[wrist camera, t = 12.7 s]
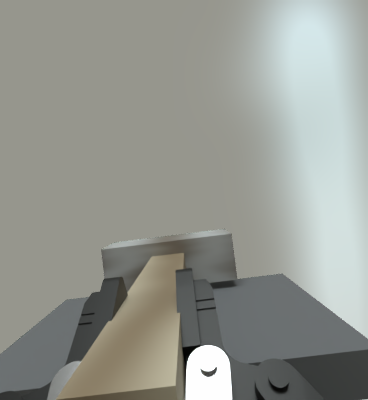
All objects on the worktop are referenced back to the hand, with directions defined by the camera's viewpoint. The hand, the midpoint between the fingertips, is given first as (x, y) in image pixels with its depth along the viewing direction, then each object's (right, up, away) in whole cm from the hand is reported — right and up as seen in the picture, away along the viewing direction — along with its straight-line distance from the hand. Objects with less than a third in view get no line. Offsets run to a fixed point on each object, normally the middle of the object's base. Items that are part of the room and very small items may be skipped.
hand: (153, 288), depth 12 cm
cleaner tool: (0, -3, +3) cm, 4 cm away
